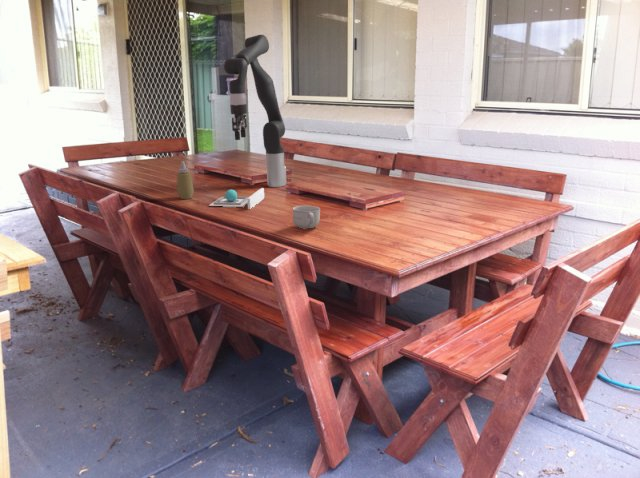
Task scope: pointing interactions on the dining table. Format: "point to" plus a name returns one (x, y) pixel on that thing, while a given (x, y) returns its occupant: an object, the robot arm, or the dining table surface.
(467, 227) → the dining table surface
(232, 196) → the teal ball
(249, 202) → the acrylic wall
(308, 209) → the teacup
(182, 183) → the squeeze bottle
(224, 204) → the pad
